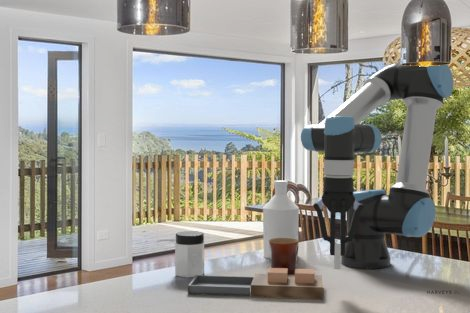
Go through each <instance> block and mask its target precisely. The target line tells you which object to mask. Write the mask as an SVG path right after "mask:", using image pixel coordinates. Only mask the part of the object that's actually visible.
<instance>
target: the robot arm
mask: <svg viewBox="0 0 470 313" xmlns="http://www.w3.org/2000/svg"><path fill="white" fill-rule="evenodd" d="M400 62H401V61H399V62H395V63H392V64H389V65H386V66H384V67H383V68H381V69H379V70H378V71H376V72H375V73H374V74H371V75H370V76H369V77H368V78H367V79H366V80H365V81H364V83H363V84H362V87H361V88H360V89H359V90H358V91H356V92H355V93H354V94H353V95H352V96H350V97H349V98H348V99H347V100H345V101H344V102H343V103H342V104H341V105H339V107H337V108H336V109H335V110H334V111H332V112H331V113H330V114H329V115H327V116H326V117H325V118H324V119H323V120H321V121H320V122H318V123H317V124H315V123H312V124H307V125H305V126H304V127H303V128H302V130H301V134H300V142H301V146H302V147H303V148H304V149H306V150H307V151H311V152H312V151H313V152H316V153H317V152H324V157H323V158H324V159H323V175H324V178H323V192H322V195H321V199H319V200H318V201H317V202H313V209H315V212H316V213H317V218H318V221H319V222H318V223H319V225H320V230H321V234H322V239H323V240H324V241H327V242H328V243H329V255H330V256H334V257H333V258H334V259H333V268H334V270H341V264H342V265H343V266H347V267H351V268H355V269H356V268H358V269H383V268H387V267H390V266H391V255H390V252H389V249H388V248H389V247H388V244H387V243H386V240H385V239H386V237H385V236H386V234H389V235H398V236H404V237H407V238H410V237H413V238H422V237H423V236H425V235H427V234H428V233H429V231H430V230H431V228H432V227H433V225H434V222H435V219H436V213H437V212H436V204H435V201H434V200H433V199H432V198H430V196H431V193H430V191H429V190H428V189H427V188H426V187H427V180H428V179H427V178H428V173H429V167H430V166H429V165H430V158H431V152H432V144H433V137H434V131H435V130H434V129H435V123H436V116H437V111H438V110H439V109H440V108H442V107H443V106H444V105H443V104H444V100H445V99H448V98H450V96H452V93H453V90H454V78H453V73H452V70H451V68H450V66H449V64H448V65H440V66H429V67H419V66H404V65H401V64H400ZM393 100H395V101H396V100H402V101H403V104H405V106H406V113H405V114H406V115H405V121H404V126H403V133H402V140H401V148H400V154H399V161H398V166H397V175H396V180H395V184H393V185H391V186H390V187H389V192H388V194H387V192H386V190H385V189H382V188H379V189H368V190H367V189H366V190H357V191H355V190H354V178H353V177H352V176H354V174H355V172H354V170H355V168H354V167H355V164H354V163H355V162H354V161H355V158H354V157H355V153H358V154H359V153H365V154H368V153H373V152H375V151H377V150H378V149H379V148H380V146H381V144H382V140H383V137H382V133H381V131H380V129H379V127H377V126H375V125H371V124H369V123H367V124H365V123H364V124H360V123H361V122H362V121H363V120H365V119H366V117H368V116H369V115H370V114H371V113H372V112H374V110H376V109H377V107H379V106H385V105H386V104H387V103H388V102H390V101H393ZM323 206H325V208H326V209H327V210H328V211H329V216H330V220H329V221H330V222H329V226H330V227H329V235H328V232H327V227H326V223H325V219H324V215H323V209H324V207H323ZM337 213H339V214H340V220H339V221H340V225H339V227H340V229H339V230H340V231H339V232H340V235H339V236H340V237H339V240H340V241H336V214H337Z"/></svg>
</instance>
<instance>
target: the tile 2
mask: <svg viewBox="0 0 470 313" xmlns="http://www.w3.org/2000/svg"><path fill="white" fill-rule="evenodd" d="M315 274H316V273H315V269H314V268H297V269H295V283H315Z"/></svg>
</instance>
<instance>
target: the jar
mask: <svg viewBox="0 0 470 313" xmlns="http://www.w3.org/2000/svg"><path fill="white" fill-rule="evenodd" d="M204 235H205V234H204V232H202V231H194V230H189V231H188V230H186V231H185V230H184V231H179V232H177V233H175V244H174V248H175V249H174V253H175V254H174V256H175V257H174V264H175V274H174V275H175V276H178V277H181V278H188V279H190V278H194V277H195V276H196V275H203V274H204V273H205V237H204Z"/></svg>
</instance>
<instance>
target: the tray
mask: <svg viewBox="0 0 470 313" xmlns="http://www.w3.org/2000/svg"><path fill="white" fill-rule="evenodd" d="M192 278H193V279H192V280H191V281H190V282H189V284H188V285H187V295H201V296H202V295H210V296H234V297H235V296H237V297H251V283H252V281H253V278H254V276H239V275H238V276H236V275H212V274H211V275H210V274H209V275H205V274H204V275H196V276H195V277H192Z"/></svg>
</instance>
